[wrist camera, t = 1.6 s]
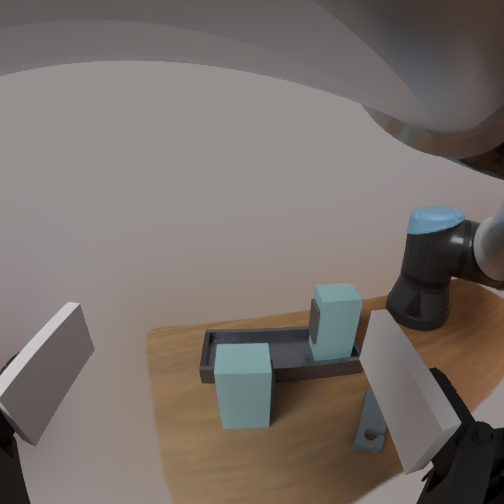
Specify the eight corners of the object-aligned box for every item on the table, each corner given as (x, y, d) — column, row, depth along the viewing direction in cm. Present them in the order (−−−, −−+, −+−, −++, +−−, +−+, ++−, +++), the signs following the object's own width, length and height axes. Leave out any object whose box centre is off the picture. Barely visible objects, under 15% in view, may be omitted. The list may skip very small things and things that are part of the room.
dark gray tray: (344, 335, 49) (346, 322, 48) (361, 372, 40) (365, 358, 39) (207, 342, 49) (205, 329, 48) (201, 383, 40) (199, 369, 38)
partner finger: (341, 338, 47) (351, 283, 43) (350, 356, 42) (363, 299, 38) (305, 341, 46) (311, 285, 42) (311, 361, 42) (319, 302, 38)
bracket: (388, 398, 35) (392, 390, 34) (378, 455, 26) (383, 447, 25) (364, 395, 36) (367, 386, 35) (350, 450, 27) (353, 443, 27)
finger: (269, 399, 37) (272, 342, 32) (272, 427, 32) (276, 372, 28) (224, 400, 36) (217, 344, 32) (222, 428, 32) (214, 373, 28)
